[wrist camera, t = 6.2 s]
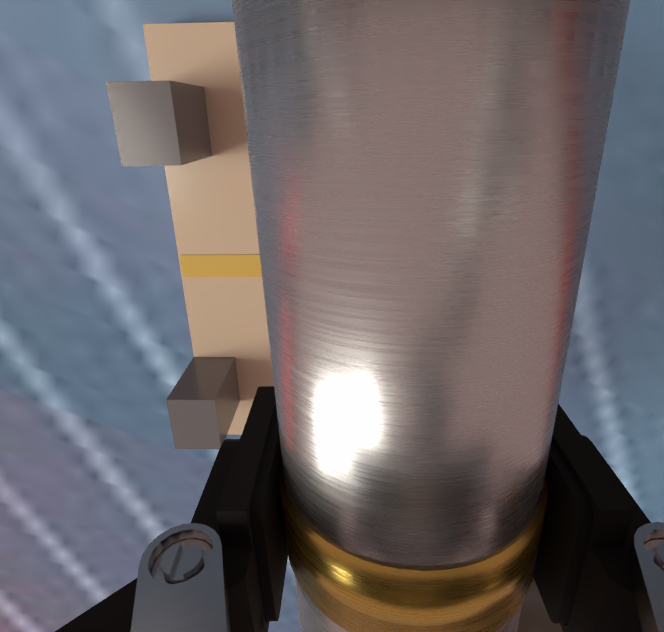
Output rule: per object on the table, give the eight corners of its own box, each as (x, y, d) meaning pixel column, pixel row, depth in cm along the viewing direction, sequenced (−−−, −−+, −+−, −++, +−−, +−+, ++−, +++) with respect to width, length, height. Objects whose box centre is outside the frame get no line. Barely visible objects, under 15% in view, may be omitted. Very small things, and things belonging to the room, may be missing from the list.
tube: (257, -42, 8) (123, -253, 4) (554, -63, 8) (850, -325, 3) (318, 654, 16) (303, 879, 11) (469, 658, 16) (517, 890, 11)
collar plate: (401, 23, 21) (418, -8, 16) (386, 421, 30) (394, 489, 24) (156, 29, 22) (91, 1, 16) (212, 419, 30) (182, 485, 25)
